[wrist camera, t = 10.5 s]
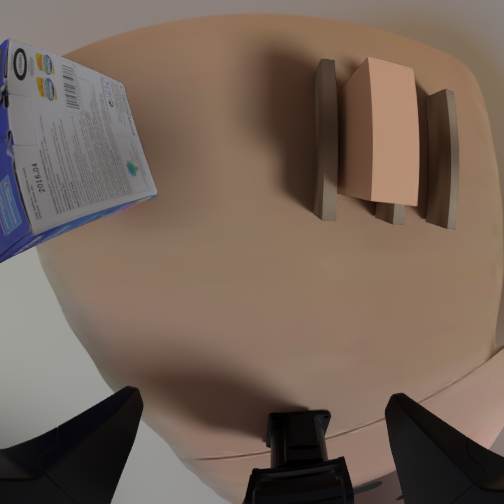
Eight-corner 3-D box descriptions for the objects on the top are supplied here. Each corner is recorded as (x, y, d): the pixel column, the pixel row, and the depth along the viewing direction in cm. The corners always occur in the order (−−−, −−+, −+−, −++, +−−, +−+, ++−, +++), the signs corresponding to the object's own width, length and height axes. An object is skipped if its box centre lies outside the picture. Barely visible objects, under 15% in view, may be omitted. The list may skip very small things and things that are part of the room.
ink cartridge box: (71, 115, 16) (-72, 101, 3) (123, 80, 16) (-20, 17, 2) (103, 221, 19) (-49, 295, 5) (160, 194, 18) (-12, 255, 4)
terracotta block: (367, 195, 17) (417, 206, 11) (333, 193, 18) (371, 200, 11) (367, 101, 16) (413, 69, 9) (334, 96, 16) (367, 56, 9)
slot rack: (433, 222, 17) (455, 229, 15) (313, 214, 18) (322, 220, 15) (433, 100, 15) (453, 91, 12) (313, 75, 15) (321, 58, 13)
